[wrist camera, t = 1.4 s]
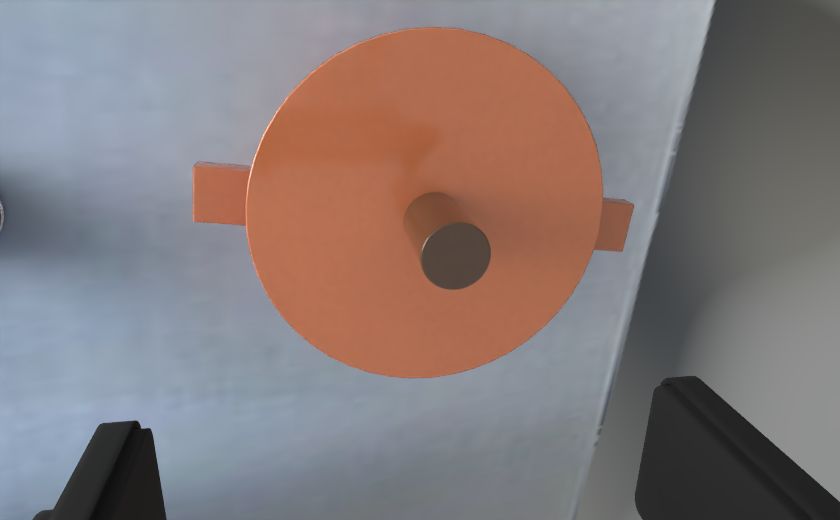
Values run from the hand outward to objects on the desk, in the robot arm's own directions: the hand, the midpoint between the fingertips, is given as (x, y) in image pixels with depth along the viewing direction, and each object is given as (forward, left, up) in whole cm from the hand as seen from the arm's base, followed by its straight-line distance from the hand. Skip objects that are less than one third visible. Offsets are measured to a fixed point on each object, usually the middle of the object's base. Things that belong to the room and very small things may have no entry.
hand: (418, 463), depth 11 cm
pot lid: (-2, +3, -16) cm, 16 cm away
